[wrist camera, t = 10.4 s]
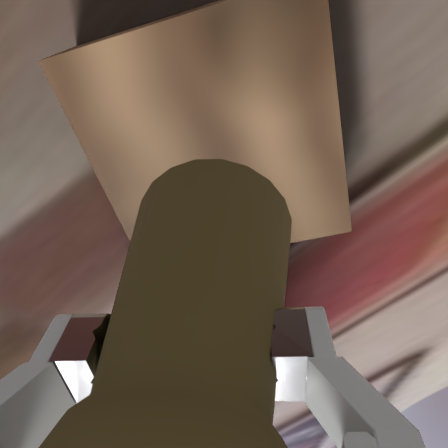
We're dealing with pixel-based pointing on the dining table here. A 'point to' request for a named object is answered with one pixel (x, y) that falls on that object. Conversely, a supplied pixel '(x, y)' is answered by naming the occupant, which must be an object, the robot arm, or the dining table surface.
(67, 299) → the dining table surface
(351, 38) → the dining table surface
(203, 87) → the wooden block
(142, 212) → the cork
